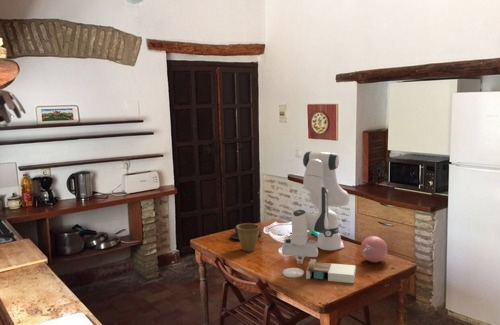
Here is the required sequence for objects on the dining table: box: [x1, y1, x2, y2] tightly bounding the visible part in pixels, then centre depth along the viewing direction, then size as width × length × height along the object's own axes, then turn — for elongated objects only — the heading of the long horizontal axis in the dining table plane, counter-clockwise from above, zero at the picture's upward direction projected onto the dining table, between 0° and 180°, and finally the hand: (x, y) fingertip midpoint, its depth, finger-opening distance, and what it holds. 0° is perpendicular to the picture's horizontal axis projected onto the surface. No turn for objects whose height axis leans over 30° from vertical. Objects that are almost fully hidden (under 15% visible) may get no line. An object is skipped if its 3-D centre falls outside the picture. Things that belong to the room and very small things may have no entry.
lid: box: [307, 258, 332, 272], centre depth 249 cm, size 11×11×3 cm
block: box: [313, 271, 325, 280], centre depth 249 cm, size 5×5×4 cm
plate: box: [282, 267, 305, 279], centre depth 255 cm, size 12×12×1 cm
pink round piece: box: [360, 235, 388, 263], centre depth 266 cm, size 15×20×15 cm
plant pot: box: [237, 223, 260, 252], centre depth 296 cm, size 15×15×16 cm
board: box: [305, 261, 357, 284], centre depth 249 cm, size 14×26×4 cm, turn 72°
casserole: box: [229, 222, 263, 240], centre depth 324 cm, size 25×19×8 cm
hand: (300, 263), depth 252 cm, fingers closed
